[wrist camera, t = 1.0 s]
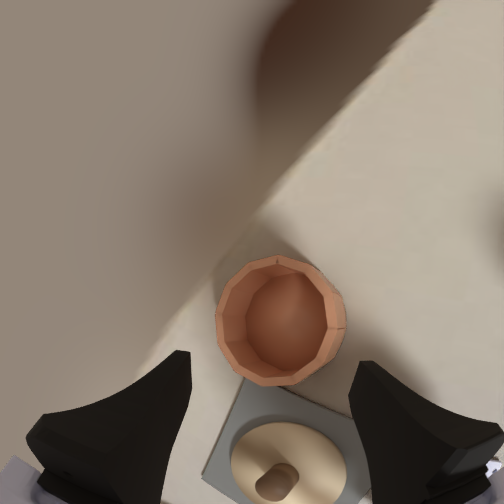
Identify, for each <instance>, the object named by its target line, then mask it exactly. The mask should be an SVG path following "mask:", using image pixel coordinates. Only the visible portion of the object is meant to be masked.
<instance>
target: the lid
mask: <svg viewBox="0 0 504 504" xmlns="http://www.w3.org/2000/svg"><path fill="white" fill-rule="evenodd" d="M231 469H232V474H233V477H234V479H235V482H236V483H237V485H238V487H239V488H240V490H241V491H242V492H243V493H244V495H245V496H246V497H247V498H248V499H250V500H251V501H252V502H253V503H255V504H333V503H334V502H335V501H336V500H337V499H338V497H339V496H340V495H341V493H342V491H343V488H344V486H345V484H346V480H347V465H346V462H345V459H344V457H343V455H342V453H341V451H340V450H339V448H338V447H337V446H336V445H335V443H334V442H333V441H332V440H330V439H329V438H328V437H327V436H325V435H324V434H322V433H321V432H319V431H317V430H315V429H314V428H311V427H309V426H306V425H303V424H299V423H294V422H283V421H281V422H271V423H266V424H263V425H260V426H258V427H256V428H254V429H252V430H251V431H249V432H248V433H246V434H245V435H244V436H243V437H241V439H240V440H239V441H238V442H237V444H236V445H235V447H234V450H233V452H232V457H231Z"/></svg>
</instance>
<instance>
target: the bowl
mask: <svg viewBox="0 0 504 504" xmlns="http://www.w3.org/2000/svg"><path fill="white" fill-rule="evenodd" d="M226 284H227V285H226ZM226 284H225V287H224V290H223V293H222V295H221V298H220V301H219V304H218V306H217V309H216V312H215V313H216V314H215V319H216V330H217V341H218V344H219V345H218V346H219V347H220V349H221V351H222V352H223V354H224V356H225V357H226V359H227V360H228V362H229V364H230V365H231V367H232V368H233V370H234V371H235V372H236V373H238V374H240V375H242V376H244V377H245V378H247V379H249V380H251V381H253V382H254V383H256V384H258V385H260V386H262V387H263V386H285V385H295V384H297V383H299V382H300V381H302V380H304V379H306V378H307V377H309V376H311V375H312V374H313V373H315V372H316V371H318V370H319V369H320V368H322V367H323V366H325V365H326V364H327V363H328V362H330V361H331V360H332V359H334V357H335V356H336V353H337V351H338V350H339V348H340V346H341V344H342V341H343V338H344V335H345V331H346V329H347V328H346V327H347V325H346V311H345V307H344V303H343V299H342V296H341V294H340V293H339V292H338V291H337V289H336V288H335V287H334V285H333V284H332V283H331V282H330V281H329V280H328V279H327V278H326V277H325V275H324V274H323V273H321V272H320V271H318V270H317V269H315V268H314V267H313V266H311V265H310V264H307V263H304V262H300V261H297V260H294V259H291V258H288V257H285V256H281V255H275V256H271V257H267V258H263V259H259V260H256V261H252V262H249V263H247V264H246V265H245V266H244V267H243V268H242V269H241V270H240V271H239V272H238V273H237V274H236V275H235V276H233V277H232V278H231V279H230V280H229V281H228V282H227V283H226Z"/></svg>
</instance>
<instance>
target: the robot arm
mask: <svg viewBox="0 0 504 504" xmlns="http://www.w3.org/2000/svg"><path fill="white" fill-rule="evenodd" d="M191 391H192V376H191V355H190V352H187V351H180V350H176V351H174V352H173V353H172V354H171V355H169V356H168V357H167V358H166V359H165V360H164V361H162V362H161V363H160V364H159V365H158V366H156V367H155V368H154V369H153V370H151V371H150V372H149V373H147V374H146V375H145V376H143V377H142V378H141V379H139V380H138V381H136V382H135V383H133V384H132V385H130V386H129V387H127V388H125V389H124V390H122V391H120V392H118V393H116V394H114V395H112V396H110V397H107V398H105V399H103V400H100V401H98V402H95V403H92V404H90V405H86V406H83V407H80V408H76V409H72V410H67V411H62V412H56V413H49V414H43V415H42V416H41V418H40V419H39V420H38V421H37V423H36V424H35V425H34V426H33V428H32V429H31V430H30V431H29V433H28V434H27V436H26V441H27V444H28V446H29V448H30V449H31V451H32V452H33V454H34V455H35V456H36V458H37V459H38V460H39V462H40V463H41V464H42V466H43V467H44V468H45V469H44V471H43V473H42V474H41V473H40V472H39V471H38V470H36V469H35V468H34V467H32V466H31V465H29V464H28V463H26V462H24V461H23V460H21V459H20V458H18V457H17V456H16V455H13V456H12V458H11V459H10V460H9V462H8V463H7V464H6V466H5V467H4V469H3V470H2V471H1V473H0V504H160V501H161V495H162V490H163V485H164V480H165V475H166V470H167V466H168V462H169V458H170V454H171V451H172V447H173V444H174V442H175V439H176V437H177V434H178V431H179V429H180V426H181V424H182V421H183V418H184V416H185V413H186V410H187V408H188V404H189V400H190V395H191ZM348 397H349V403H350V408H351V413H352V416H353V419H354V422H355V425H356V428H357V431H358V434H359V437H360V439H361V442H362V445H363V448H364V451H365V455H366V458H367V463H368V469H369V474H370V482H371V489H372V501H373V504H504V467H503V468H501V469H500V467H501V465H502V463H501V461H498V460H491V459H492V457H493V456H494V455H495V454H496V453H497V451H498V450H499V449H500V448H501V446H502V445H503V443H504V432H503V430H502V429H501V427H500V426H499V425H498V424H497V423H493V422H487V421H481V420H476V419H472V418H468V417H465V416H462V415H459V414H456V413H453V412H451V411H448V410H446V409H444V408H442V407H439V406H437V405H436V404H434V403H432V402H430V401H428V400H426V399H425V398H423V397H421V396H420V395H418V394H417V393H415V392H414V391H412V390H411V389H409V388H408V387H407V386H405V385H404V384H403V383H401V382H400V381H399V380H397V379H396V378H395V377H393V376H392V375H391V374H390V373H388V372H387V371H386V370H384V369H383V368H382V367H381V366H379V365H378V364H377V363H375V362H374V361H360V362H359V365H358V368H357V371H356V374H355V377H354V380H353V383H352V386H351V389H350V392H349V395H348ZM494 469H495V471H493V470H494ZM499 469H500V470H499ZM492 471H493V472H492Z"/></svg>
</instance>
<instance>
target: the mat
mask: <svg viewBox="0 0 504 504" xmlns="http://www.w3.org/2000/svg"><path fill="white" fill-rule="evenodd" d="M281 421H283V422H294V423H299V424H303V425H306V426H309V427H311V428H314V429H315V430H317V431H319V432H321V433H322V434H324V435H325V436H327V437H328V438H329V439H330V440H332V441H333V442H334V443H335V445H336V446H337V447H338V448H339V450H340V451H341V453H342V455H343V457H344V459H345V462H346V465H347V480H346V484H345V486H344V488H343V491H342V493H341V495H340V496H339V497H338V499H337V500H336V501H335V502H334V503H333V504H358V503H359V501H360V500H361V499H362V498H363V497H364V495H365V494H366V493H367V492H368V490H369V489H370V488H371V482H370V474H369V469H368V463H367V458H366V455H365V451H364V448H363V445H362V442H361V439H360V437H359V434H358V431H357V428H356V425H355V422H354V419H352V418H349V417H347V416H344V415H342V414H339V413H337V412H334V411H332V410H330V409H327V408H325V407H323V406H321V405H318V404H316V403H314V402H312V401H309V400H307V399H305V398H303V397H301V396H299V395H297V394H294V393H292V392H290V391H288V390H286V389H284V388H282V387H280V386H263V387H262V386H260V385H258V384H256V383H254V382H253V381H251V380H249V379H247V378H245V381H244V383H243V385H242V388H241V390H240V393H239V395H238V397H237V400H236V402H235V404H234V407H233V409H232V411H231V414H230V416H229V418H228V421H227V423H226V425H225V428H224V430H223V432H222V434H221V437H220V439H219V441H218V443H217V446H216V448H215V450H214V452H213V454H212V457H211V459H210V461H209V463H208V465H207V467H206V470H205V472H204V474H203V476H202V478H201V479H202V480H204V481H205V482H207V483H208V484H209V485H211V486H212V487H214V488H215V489H217V490H218V491H220V492H221V493H223V494H224V495H226V496H227V497H229V498H230V499H232V500H234V501H235V502H237V503H239V504H255V503H253V502H252V501H251V500H250V499H248V498H247V497H246V496H245V495H244V493H243V492H242V491H241V490H240V488H239V487H238V485H237V483H236V482H235V479H234V477H233V474H232V469H231V457H232V452H233V450H234V447H235V445H236V444H237V442H238V441H239V440H240V439H241V437H243V436H244V435H245V434H246V433H248V432H249V431H251V430H252V429H254V428H256V427H258V426H260V425H263V424H266V423H271V422H281Z"/></svg>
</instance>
